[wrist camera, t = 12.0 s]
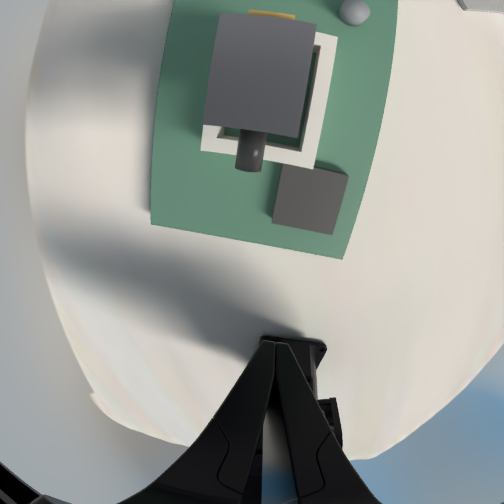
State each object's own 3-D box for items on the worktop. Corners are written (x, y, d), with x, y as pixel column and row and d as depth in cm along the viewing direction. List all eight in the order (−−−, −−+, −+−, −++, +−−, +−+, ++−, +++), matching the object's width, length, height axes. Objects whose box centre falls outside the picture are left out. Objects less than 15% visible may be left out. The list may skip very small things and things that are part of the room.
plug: (285, 152, 16) (288, 186, 9) (236, 144, 16) (198, 171, 9) (301, 56, 12) (319, 9, 5) (250, 49, 12) (223, -1, 6)
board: (339, 251, 20) (347, 275, 17) (157, 218, 20) (138, 236, 17) (392, -1, 10) (409, -16, 7) (191, -31, 10) (176, -49, 7)
